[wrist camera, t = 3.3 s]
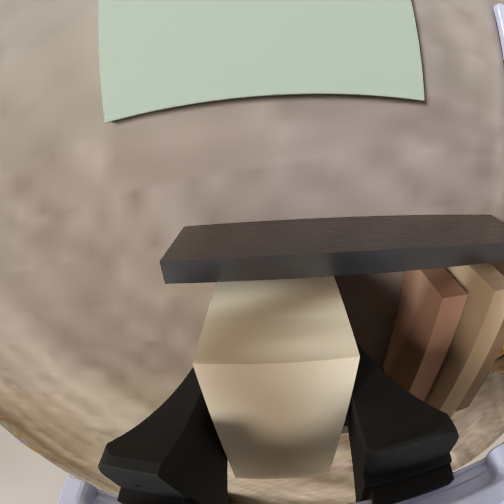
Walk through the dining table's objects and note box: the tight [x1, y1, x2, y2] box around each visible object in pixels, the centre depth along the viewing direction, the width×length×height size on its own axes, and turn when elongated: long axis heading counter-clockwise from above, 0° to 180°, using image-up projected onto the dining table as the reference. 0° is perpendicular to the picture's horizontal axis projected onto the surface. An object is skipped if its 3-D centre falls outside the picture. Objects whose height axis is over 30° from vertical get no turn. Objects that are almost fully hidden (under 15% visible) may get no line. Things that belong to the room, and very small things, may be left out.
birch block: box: [192, 276, 360, 479], centre depth 11 cm, size 4×8×6 cm, turn 5°
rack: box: [160, 215, 504, 434], centre depth 12 cm, size 14×11×3 cm
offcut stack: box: [383, 261, 504, 418], centre depth 11 cm, size 4×8×4 cm, turn 5°
